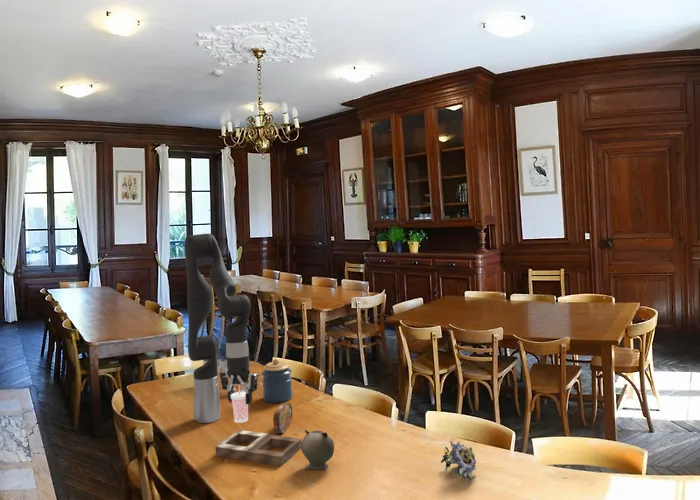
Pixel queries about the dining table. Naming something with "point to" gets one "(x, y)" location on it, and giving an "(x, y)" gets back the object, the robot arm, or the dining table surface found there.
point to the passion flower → (460, 459)
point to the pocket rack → (258, 447)
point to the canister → (277, 382)
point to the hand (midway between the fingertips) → (240, 402)
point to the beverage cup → (239, 406)
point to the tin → (282, 418)
